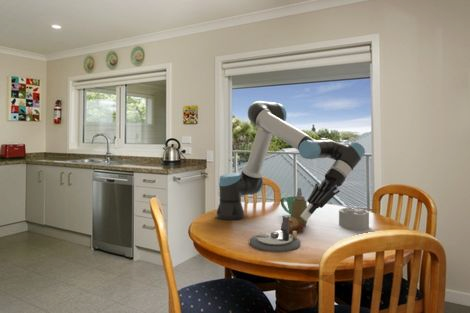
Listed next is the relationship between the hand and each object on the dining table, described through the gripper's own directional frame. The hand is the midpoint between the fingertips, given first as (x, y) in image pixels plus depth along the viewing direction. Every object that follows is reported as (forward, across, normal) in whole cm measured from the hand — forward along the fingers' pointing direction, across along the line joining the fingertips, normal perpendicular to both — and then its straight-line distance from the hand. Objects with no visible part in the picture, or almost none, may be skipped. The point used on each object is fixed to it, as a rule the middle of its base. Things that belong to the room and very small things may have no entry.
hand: (303, 218), depth 119 cm
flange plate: (+13, +7, 0) cm, 14 cm away
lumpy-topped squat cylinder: (-18, +13, -33) cm, 40 cm away
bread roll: (+3, +18, -12) cm, 21 cm away
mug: (-8, +43, -22) cm, 49 cm away
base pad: (+14, +6, 0) cm, 15 cm away
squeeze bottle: (-3, +25, -17) cm, 30 cm away
